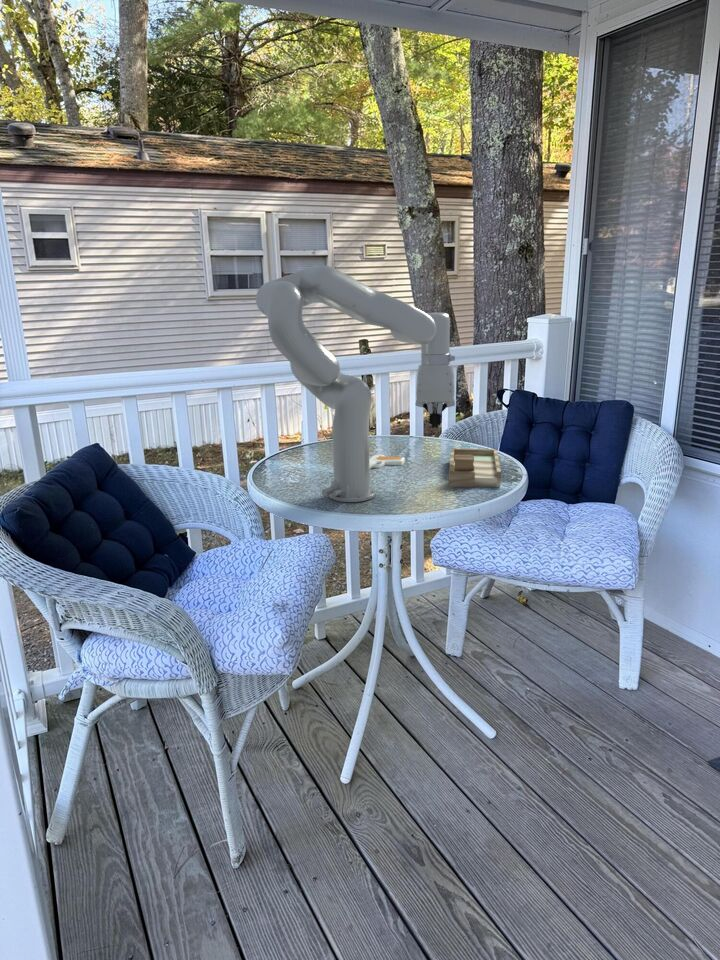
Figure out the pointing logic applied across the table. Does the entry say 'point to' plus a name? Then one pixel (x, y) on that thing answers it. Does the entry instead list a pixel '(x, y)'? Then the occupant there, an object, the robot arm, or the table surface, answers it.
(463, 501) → the table surface
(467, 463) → the block
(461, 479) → the tray
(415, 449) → the table surface
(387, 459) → the pistol
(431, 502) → the table surface
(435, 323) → the robot arm
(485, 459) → the pad
